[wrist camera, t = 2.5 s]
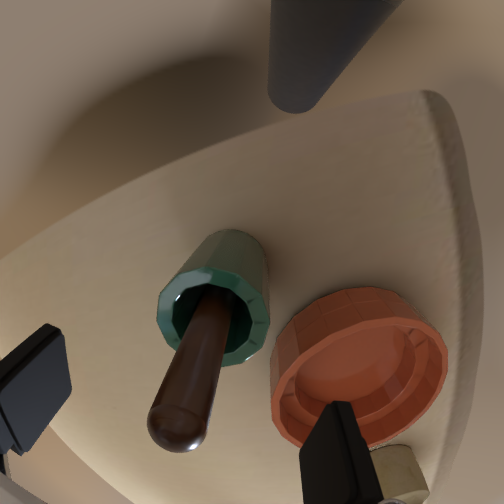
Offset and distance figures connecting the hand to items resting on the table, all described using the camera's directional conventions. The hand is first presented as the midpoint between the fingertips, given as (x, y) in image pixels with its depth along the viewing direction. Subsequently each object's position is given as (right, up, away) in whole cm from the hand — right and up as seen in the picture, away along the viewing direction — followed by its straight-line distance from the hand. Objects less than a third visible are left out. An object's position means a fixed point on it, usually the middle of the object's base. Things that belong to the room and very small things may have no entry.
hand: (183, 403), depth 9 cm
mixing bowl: (+11, -4, +16) cm, 20 cm away
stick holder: (+1, +4, +14) cm, 14 cm away
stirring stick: (+1, +4, +13) cm, 14 cm away
